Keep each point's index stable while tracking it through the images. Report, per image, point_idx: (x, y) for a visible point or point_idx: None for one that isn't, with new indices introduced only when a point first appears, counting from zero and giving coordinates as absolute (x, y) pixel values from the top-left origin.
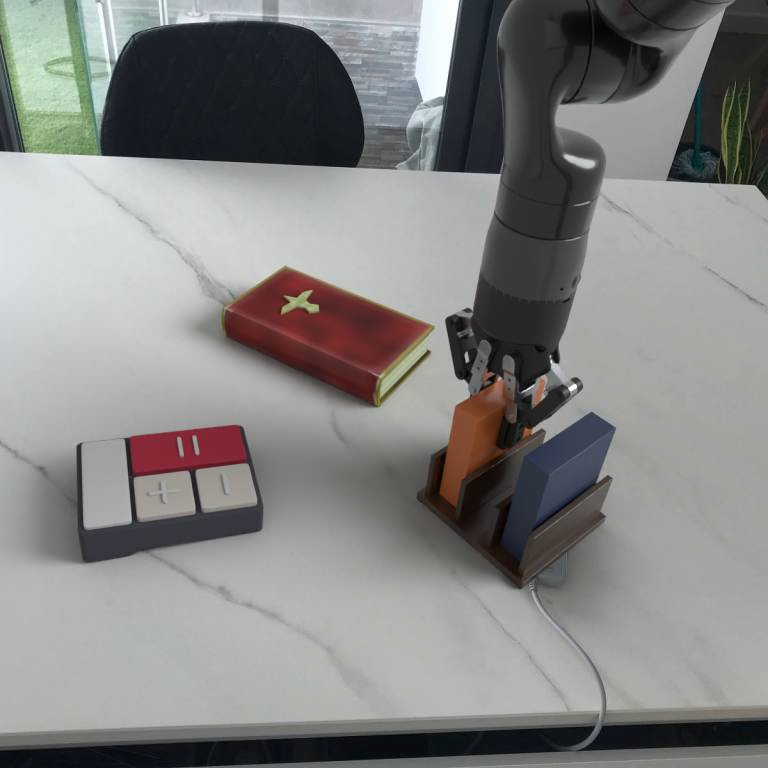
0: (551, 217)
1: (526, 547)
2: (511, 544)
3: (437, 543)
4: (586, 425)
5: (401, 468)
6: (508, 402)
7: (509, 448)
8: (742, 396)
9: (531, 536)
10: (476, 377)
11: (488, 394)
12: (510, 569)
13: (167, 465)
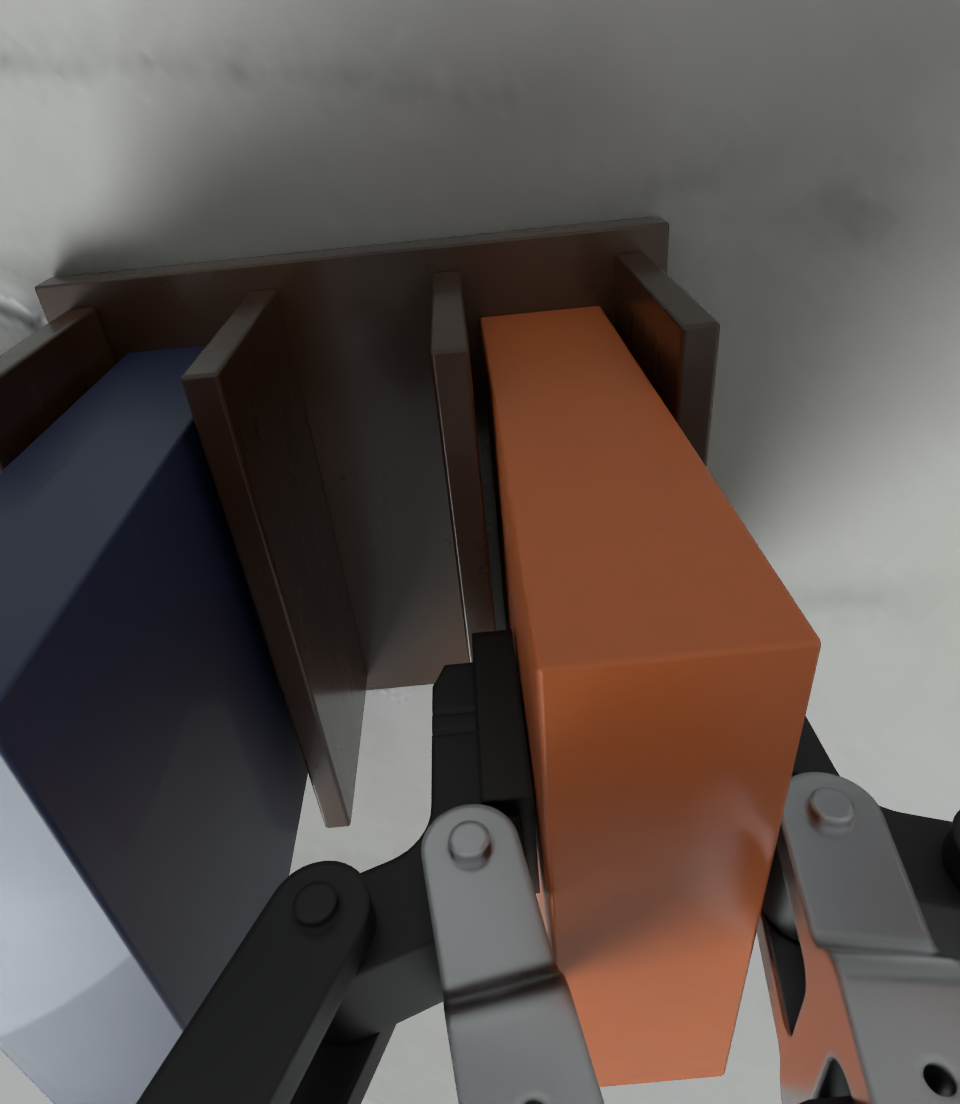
0: None
1: (4, 364)
2: (179, 363)
3: (407, 121)
4: (151, 1074)
5: (822, 273)
6: (524, 943)
7: (445, 667)
8: (394, 1085)
9: None
10: (884, 935)
11: (708, 872)
12: (117, 292)
13: None
